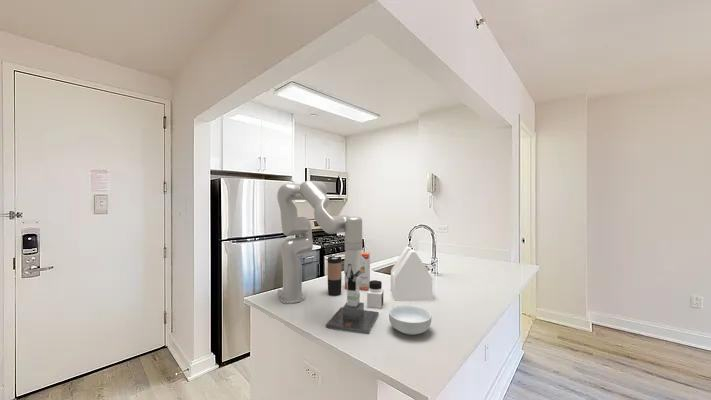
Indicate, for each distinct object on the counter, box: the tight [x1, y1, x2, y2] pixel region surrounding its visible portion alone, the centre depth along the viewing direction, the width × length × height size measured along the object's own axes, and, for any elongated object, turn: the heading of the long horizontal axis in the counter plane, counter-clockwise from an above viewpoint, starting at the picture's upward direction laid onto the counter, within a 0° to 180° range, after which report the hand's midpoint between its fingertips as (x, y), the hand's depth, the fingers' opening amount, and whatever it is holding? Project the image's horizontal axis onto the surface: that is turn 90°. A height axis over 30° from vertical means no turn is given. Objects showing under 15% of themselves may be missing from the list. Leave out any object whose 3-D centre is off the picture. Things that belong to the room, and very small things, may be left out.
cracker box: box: [344, 251, 371, 291], centre depth 163 cm, size 14×6×21 cm, turn 81°
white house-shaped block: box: [390, 246, 433, 302], centre depth 152 cm, size 19×15×25 cm
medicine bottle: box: [366, 279, 384, 309], centre depth 138 cm, size 7×7×12 cm
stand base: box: [325, 302, 380, 335], centre depth 120 cm, size 18×18×7 cm
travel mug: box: [327, 255, 343, 297], centre depth 154 cm, size 8×8×20 cm
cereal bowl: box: [388, 304, 433, 336], centre depth 112 cm, size 17×17×7 cm
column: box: [346, 271, 361, 307], centre depth 120 cm, size 5×5×14 cm
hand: (353, 288), depth 120 cm, fingers closed on column, 4 cm apart
